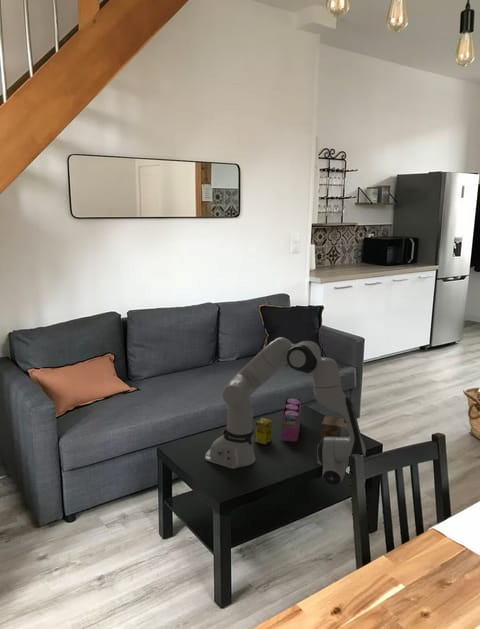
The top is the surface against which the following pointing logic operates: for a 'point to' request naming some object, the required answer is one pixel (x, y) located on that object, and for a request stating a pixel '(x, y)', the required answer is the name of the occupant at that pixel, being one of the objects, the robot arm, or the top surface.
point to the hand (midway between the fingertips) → (343, 446)
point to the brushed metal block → (344, 430)
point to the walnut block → (331, 427)
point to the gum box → (291, 420)
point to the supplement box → (263, 431)
